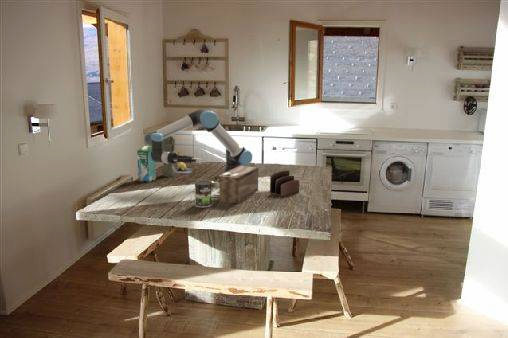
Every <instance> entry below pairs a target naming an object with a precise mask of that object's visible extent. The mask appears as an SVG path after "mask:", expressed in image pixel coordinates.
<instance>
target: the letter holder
mask: <svg viewBox="0 0 508 338" xmlns="http://www.w3.org/2000/svg"><path fill="white" fill-rule="evenodd" d="M290 174H291V173H290V170H281V171H277V172H274V173H272V174H271V175H270V178H269V179H270V183H269V194H270V195H272V196H277V197H285V196H287V195H291V194H294V193H297V192H300V180H299V179H295V175H290Z"/></svg>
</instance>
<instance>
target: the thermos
mask: <svg viewBox="0 0 508 338" xmlns="http://www.w3.org/2000/svg"><path fill="white" fill-rule="evenodd" d="M173 135H174V134H173ZM173 135H171V136H169V137H167V138H165V139H163V152H174V153H175V151H176V138H175V137H174V136H173ZM162 165H163V166H162V174H163V175H162V176H163V177H164V178H165V177H166V178H171V177H175V173H176V172H175V168H176V167H175V164H171V163H167V164H166V163H162Z"/></svg>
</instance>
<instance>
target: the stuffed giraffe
mask: <svg viewBox="0 0 508 338" xmlns="http://www.w3.org/2000/svg"><path fill="white" fill-rule="evenodd" d="M175 153H176V154H177V155H181V152H180V151H179V152H175ZM176 164H177V167H176V168H177V169H175V172H174V173H177V174H180V173H181V174H188V173H189V174H191V173H192V172H193V171H194V169H191V168H190V167H189V168H188V167H187V165H186V163H185V162H176ZM178 170H179V171H178Z"/></svg>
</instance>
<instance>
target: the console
mask: <svg viewBox="0 0 508 338" xmlns="http://www.w3.org/2000/svg"><path fill="white" fill-rule="evenodd" d="M217 178H218V179H219V188H218V190H219V196H218V197H217V201H220V202H228V203H233V204H234V203H235V204H239V203H240V202H243V201H245V199H246V198H248V197H250V196H252V195H254V194H255V193H256V192H258V191H259V167H255V166H248V165H246V166H244V165H241V166H238V167H236V168H234V169H232V170H229V171H227V172H225V173H224V172H223V173H221V174H219V175H217Z"/></svg>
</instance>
